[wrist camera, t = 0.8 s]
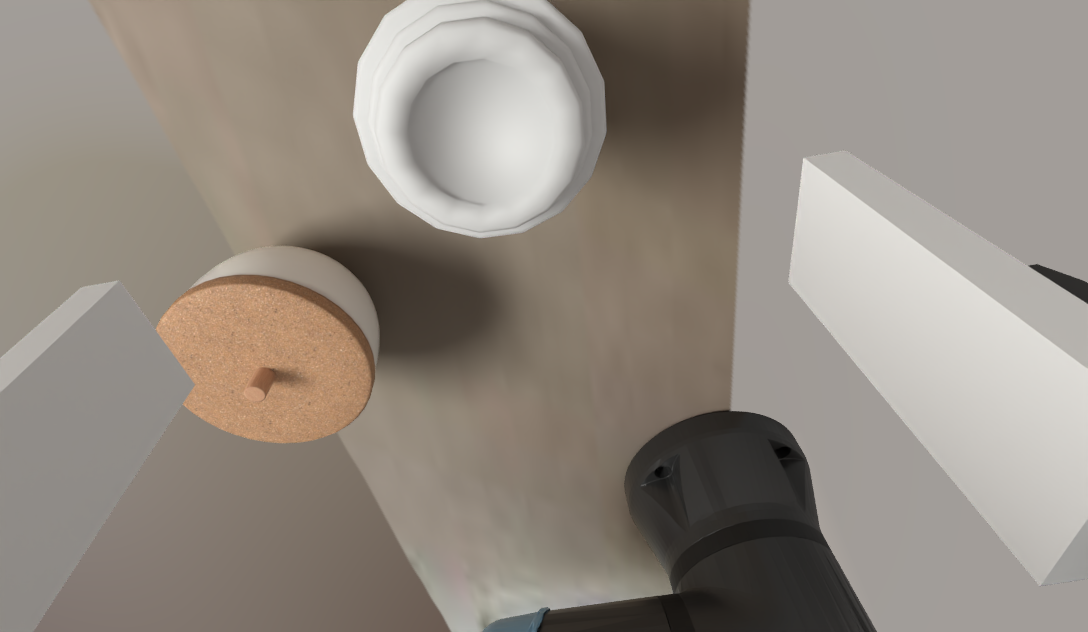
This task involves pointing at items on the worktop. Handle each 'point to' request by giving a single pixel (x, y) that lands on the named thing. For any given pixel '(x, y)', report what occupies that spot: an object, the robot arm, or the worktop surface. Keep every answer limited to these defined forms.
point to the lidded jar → (276, 344)
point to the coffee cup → (480, 112)
